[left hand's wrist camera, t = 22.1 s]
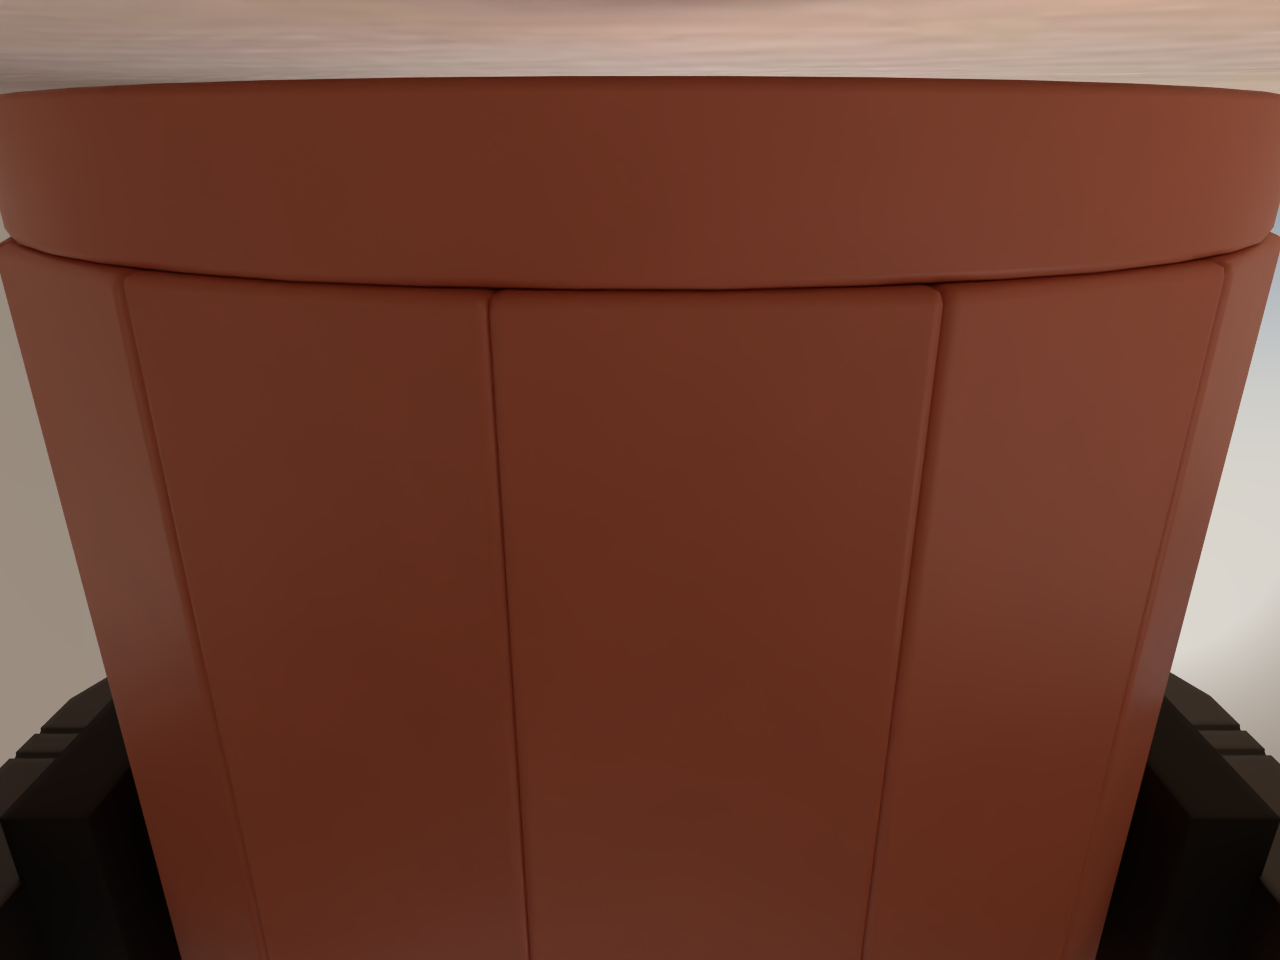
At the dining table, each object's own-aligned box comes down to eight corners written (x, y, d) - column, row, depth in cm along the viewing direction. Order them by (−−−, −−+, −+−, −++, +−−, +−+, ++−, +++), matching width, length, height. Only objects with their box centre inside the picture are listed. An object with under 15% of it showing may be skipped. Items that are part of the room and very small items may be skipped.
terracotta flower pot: (1895, 80, 3) (1213, 1506, 8) (950, 122, 12) (871, 776, 16) (-691, 71, 3) (99, 1627, 7) (262, 121, 11) (362, 801, 16)
